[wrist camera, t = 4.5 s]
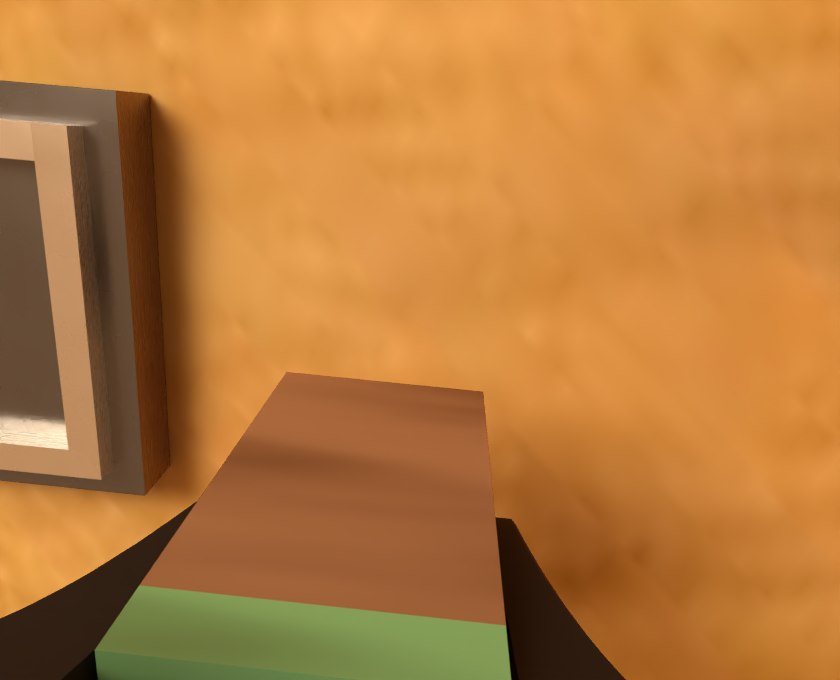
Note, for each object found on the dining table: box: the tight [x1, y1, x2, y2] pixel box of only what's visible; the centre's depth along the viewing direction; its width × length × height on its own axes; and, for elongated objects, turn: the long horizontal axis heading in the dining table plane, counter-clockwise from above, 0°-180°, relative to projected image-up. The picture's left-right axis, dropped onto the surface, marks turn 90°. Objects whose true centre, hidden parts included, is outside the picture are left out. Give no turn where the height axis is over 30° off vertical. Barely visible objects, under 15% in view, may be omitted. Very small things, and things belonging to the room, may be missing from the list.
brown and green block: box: [95, 372, 511, 680], centre depth 11 cm, size 4×4×8 cm
